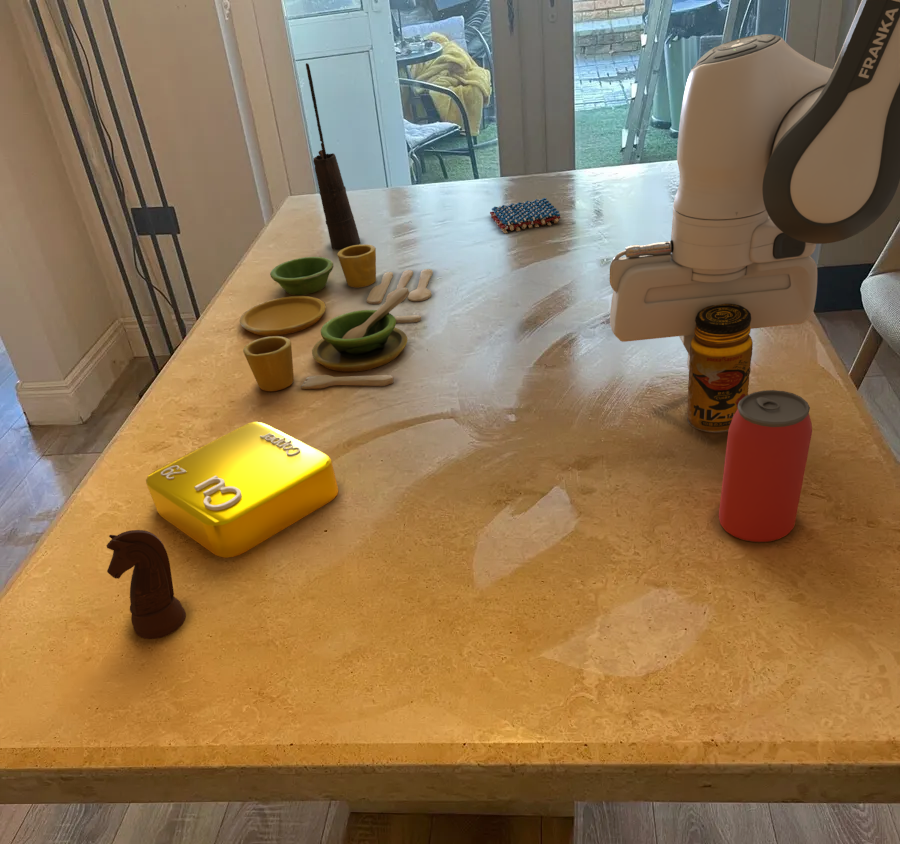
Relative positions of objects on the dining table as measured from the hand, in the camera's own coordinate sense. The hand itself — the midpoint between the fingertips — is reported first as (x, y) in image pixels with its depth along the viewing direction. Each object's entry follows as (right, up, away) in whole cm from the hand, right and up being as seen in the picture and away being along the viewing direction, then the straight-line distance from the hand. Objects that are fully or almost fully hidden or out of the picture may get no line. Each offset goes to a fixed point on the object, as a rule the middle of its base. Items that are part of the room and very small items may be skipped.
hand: (704, 368), depth 91 cm
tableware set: (-45, +14, +31) cm, 57 cm away
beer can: (0, -18, -14) cm, 23 cm away
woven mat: (-14, +41, +57) cm, 72 cm away
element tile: (-49, -15, -2) cm, 51 cm away
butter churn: (-46, +38, +59) cm, 84 cm away
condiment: (+1, -5, +1) cm, 5 cm away
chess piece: (-53, -27, -15) cm, 61 cm away
